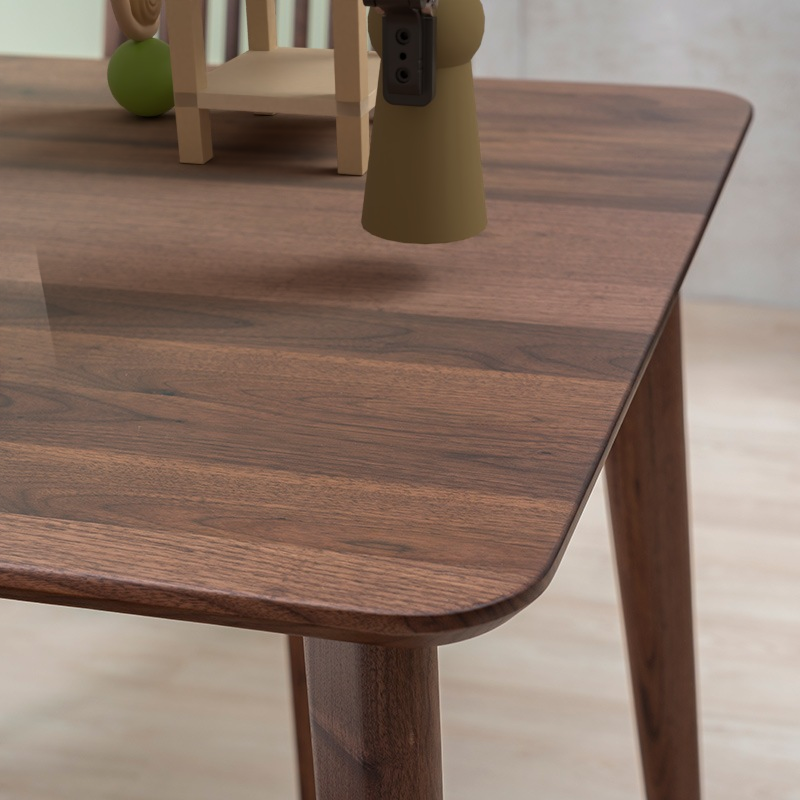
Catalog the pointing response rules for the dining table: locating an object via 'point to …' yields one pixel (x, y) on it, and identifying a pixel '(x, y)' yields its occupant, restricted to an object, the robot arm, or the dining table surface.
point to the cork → (429, 143)
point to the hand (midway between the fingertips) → (425, 86)
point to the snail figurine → (141, 60)
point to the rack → (275, 78)
